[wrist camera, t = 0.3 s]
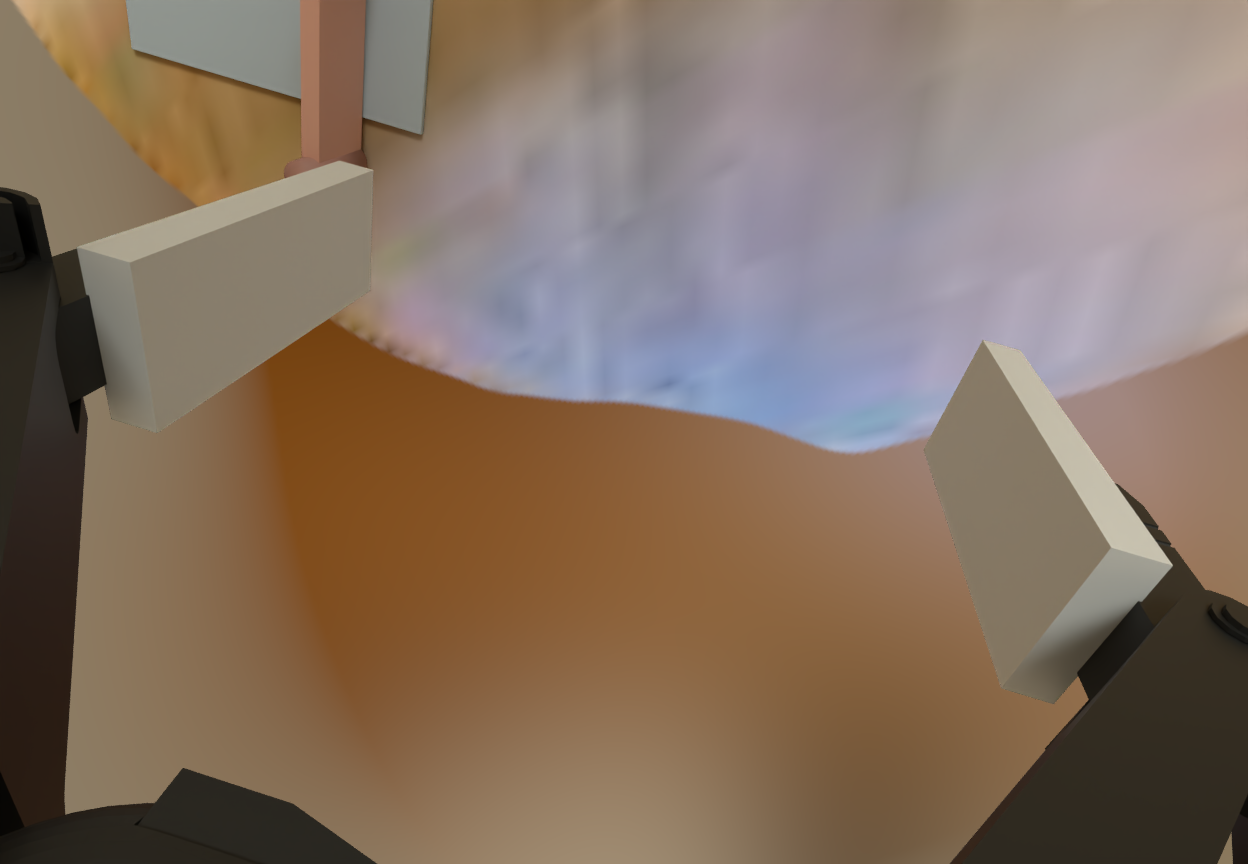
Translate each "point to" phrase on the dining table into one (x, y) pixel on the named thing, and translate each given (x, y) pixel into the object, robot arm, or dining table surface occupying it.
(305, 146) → the fence panel
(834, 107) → the dining table surface
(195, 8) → the mat
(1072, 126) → the dining table surface
